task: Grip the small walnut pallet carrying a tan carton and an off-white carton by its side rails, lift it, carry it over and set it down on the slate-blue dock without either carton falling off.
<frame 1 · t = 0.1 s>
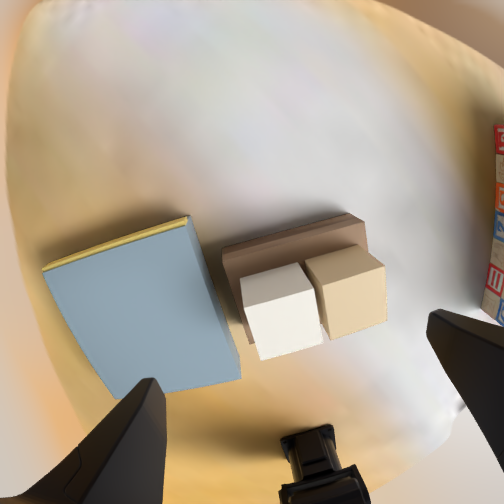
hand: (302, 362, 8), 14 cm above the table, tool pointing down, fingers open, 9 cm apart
tan carton: (336, 277, 21), point 3 cm above the table
pallet: (296, 270, 24), on the table, touching off-white carton
off-white carton: (275, 295, 21), point 3 cm above the table, touching pallet
dock: (147, 311, 23), on the table
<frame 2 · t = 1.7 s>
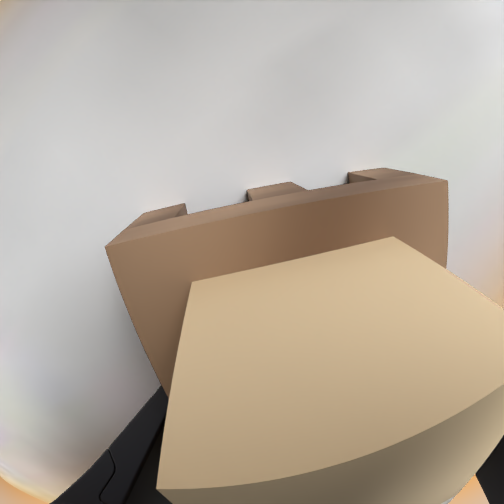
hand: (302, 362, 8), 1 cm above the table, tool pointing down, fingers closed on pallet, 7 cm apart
tan carton: (310, 343, 6), point 3 cm above the table, touching off-white carton, pallet
pallet: (293, 337, 10), on the table, touching gripper, off-white carton, tan carton
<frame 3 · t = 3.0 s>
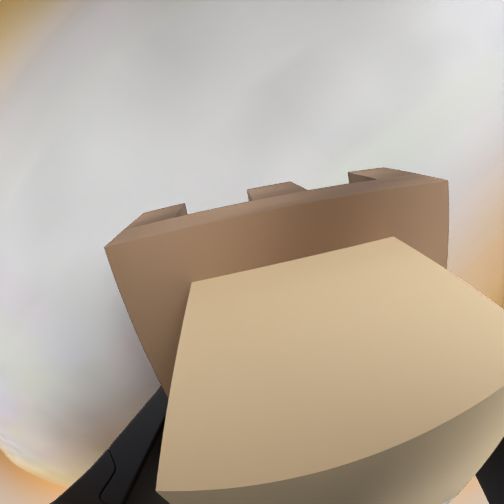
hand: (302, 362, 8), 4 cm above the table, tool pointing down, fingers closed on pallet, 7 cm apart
tan carton: (310, 344, 6), point 6 cm above the table, touching pallet
pallet: (293, 337, 10), point 3 cm above the table, touching gripper, off-white carton, tan carton
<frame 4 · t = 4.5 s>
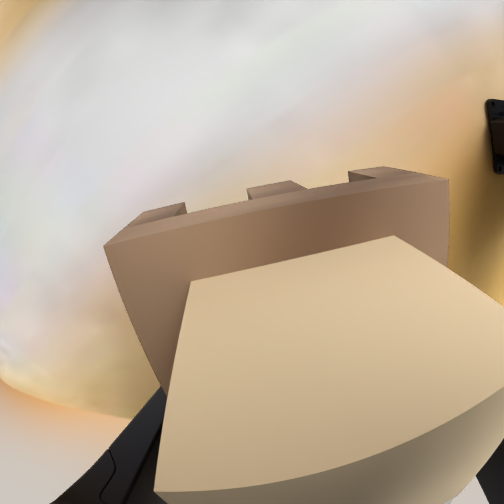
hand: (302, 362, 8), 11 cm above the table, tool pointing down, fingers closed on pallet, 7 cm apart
tan carton: (310, 343, 6), point 13 cm above the table, touching pallet
pallet: (293, 337, 10), point 10 cm above the table, touching gripper, off-white carton, tan carton
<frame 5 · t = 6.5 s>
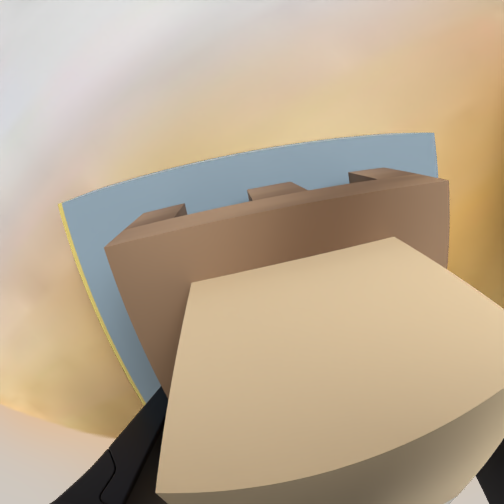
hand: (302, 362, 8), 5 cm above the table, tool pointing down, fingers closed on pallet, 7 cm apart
tan carton: (310, 344, 6), point 7 cm above the table, touching pallet
pallet: (293, 338, 10), point 4 cm above the table, touching gripper, off-white carton, tan carton
dock: (273, 289, 13), on the table
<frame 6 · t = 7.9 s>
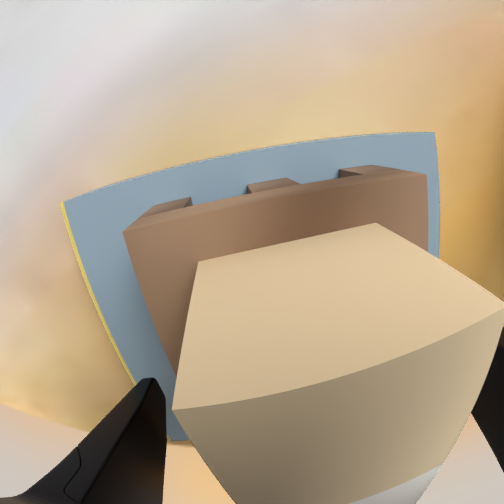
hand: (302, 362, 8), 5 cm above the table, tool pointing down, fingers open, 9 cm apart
tan carton: (303, 319, 7), point 6 cm above the table, touching pallet
pallet: (290, 322, 11), point 3 cm above the table, touching dock, off-white carton, tan carton
off-white carton: (315, 418, 8), point 6 cm above the table, touching pallet
dock: (274, 287, 13), on the table
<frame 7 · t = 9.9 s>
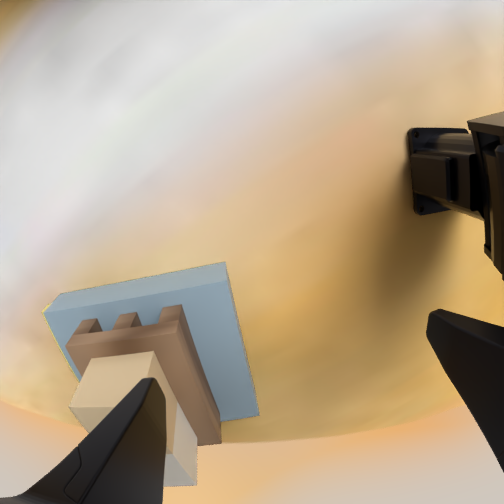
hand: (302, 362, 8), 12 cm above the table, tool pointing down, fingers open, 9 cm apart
tan carton: (134, 381, 15), point 6 cm above the table, touching pallet
pallet: (154, 374, 19), point 3 cm above the table, touching dock, off-white carton, tan carton
off-white carton: (159, 423, 17), point 6 cm above the table, touching pallet
dock: (159, 349, 22), on the table
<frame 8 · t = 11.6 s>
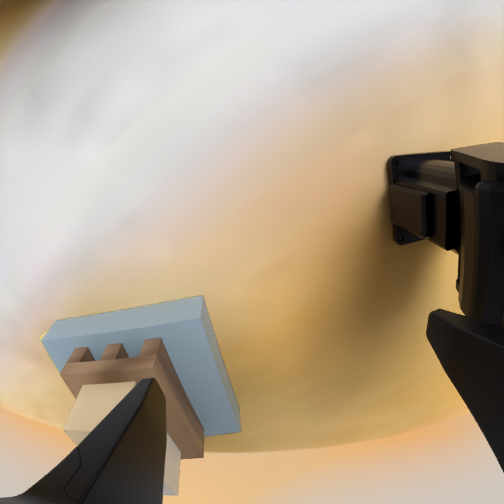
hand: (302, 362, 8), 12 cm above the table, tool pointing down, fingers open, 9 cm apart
tan carton: (121, 404, 16), point 6 cm above the table, touching pallet
pallet: (141, 394, 20), point 3 cm above the table, touching dock, off-white carton, tan carton
off-white carton: (146, 439, 18), point 6 cm above the table, touching pallet
dock: (147, 370, 23), on the table
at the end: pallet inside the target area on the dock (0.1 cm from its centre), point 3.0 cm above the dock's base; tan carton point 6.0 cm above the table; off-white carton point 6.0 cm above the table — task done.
